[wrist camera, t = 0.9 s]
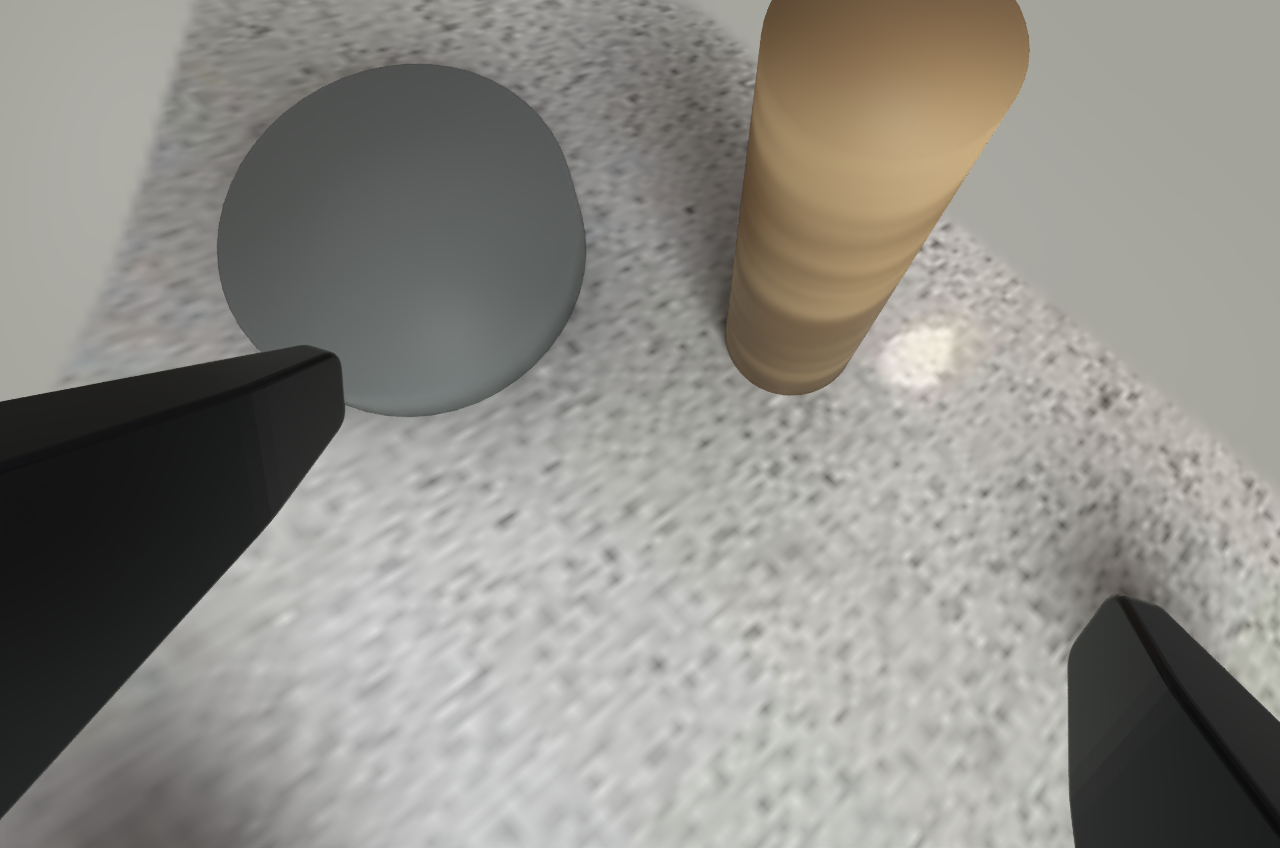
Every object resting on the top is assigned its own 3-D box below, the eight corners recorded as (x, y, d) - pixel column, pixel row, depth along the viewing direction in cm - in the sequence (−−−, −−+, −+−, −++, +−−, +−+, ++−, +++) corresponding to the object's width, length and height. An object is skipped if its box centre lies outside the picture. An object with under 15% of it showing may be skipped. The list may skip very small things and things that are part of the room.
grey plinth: (582, 414, 23) (569, 391, 21) (243, 419, 24) (193, 398, 22) (588, 107, 26) (578, 56, 24) (282, 120, 27) (241, 71, 24)
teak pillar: (858, 394, 23) (1045, 153, 11) (727, 396, 23) (765, 164, 11) (850, 273, 24) (1013, -72, 12) (724, 276, 24) (755, -58, 12)
